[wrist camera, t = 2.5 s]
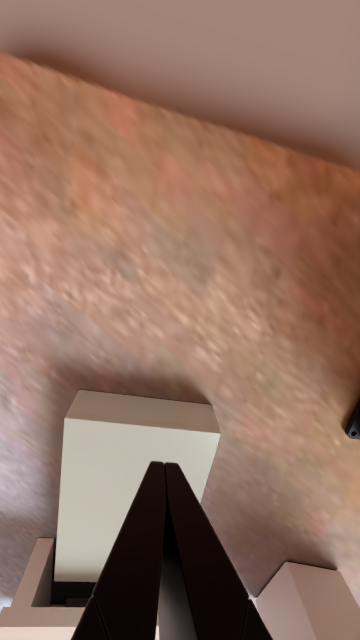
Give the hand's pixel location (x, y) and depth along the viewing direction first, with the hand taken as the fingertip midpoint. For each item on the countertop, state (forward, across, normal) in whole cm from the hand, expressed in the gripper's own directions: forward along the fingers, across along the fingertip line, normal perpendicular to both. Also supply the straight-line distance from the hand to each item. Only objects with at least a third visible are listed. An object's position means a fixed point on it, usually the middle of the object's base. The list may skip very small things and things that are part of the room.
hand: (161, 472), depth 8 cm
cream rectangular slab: (+11, 0, +13) cm, 17 cm away
